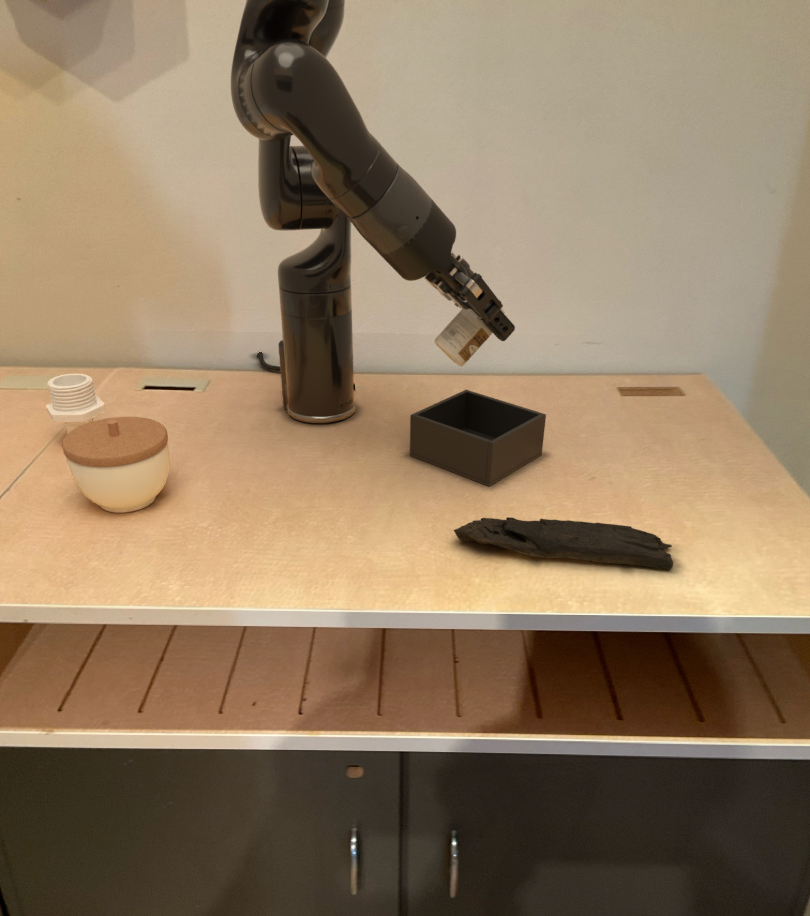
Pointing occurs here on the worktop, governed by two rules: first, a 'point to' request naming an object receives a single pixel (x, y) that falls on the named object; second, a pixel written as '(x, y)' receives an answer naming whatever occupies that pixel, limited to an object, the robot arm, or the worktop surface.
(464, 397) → the open box
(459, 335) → the pill bottle
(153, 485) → the trinket box
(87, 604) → the worktop surface
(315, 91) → the robot arm
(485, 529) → the wood
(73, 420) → the pipe fitting
